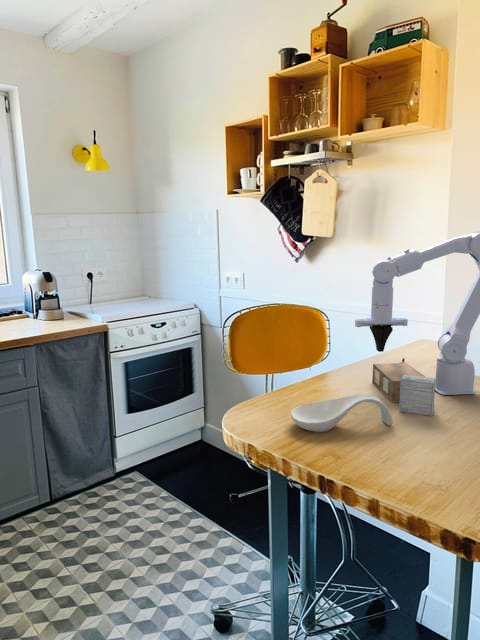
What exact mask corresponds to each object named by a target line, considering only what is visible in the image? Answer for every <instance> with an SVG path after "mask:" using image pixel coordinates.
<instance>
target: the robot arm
mask: <svg viewBox="0 0 480 640" xmlns="http://www.w3.org/2000/svg"><path fill="white" fill-rule="evenodd" d="M454 253H457V254H464V255H465V254H467V255H468V254H469V255H470V256H471V258H473V260H474V261H475V265H476V266H477V268H478V272H477V275H476V277H475V278H474V280H473V282H472V284H471V286H470V288H469V291H468V293H467V294H466V296H465V298H464V300H463V302H462V304H461V306H460V308H459V310H458V312H457V314H456V317H455V318H454V320H453V322H452V324H450V325H449V326H448V327H447V330H446V331H445V332H444V333H443V334H442V335H440V336H439V338H438V340H437V347H438V350H439V351H440V352H439V353H438V355H437V356H436V367H435V368H436V369H435V379H436V381H435V392H437V393H438V394H440V395H442V396H452V395H453V396H454V395H455V396H456V395H457V396H458V395H474V394H476V393H475V391H474V383H475V374H476V371H475V366H474V363H473V361H472V360H471V359H468V358H467V359H466V358H465V357H466V356H467V352H468V351H467V350H468V348H467V346H468V344H469V342H470V337H471V332H472V330H473V328H474V326H475V324H476V322H477V320H478V318H479V316H480V231H474V232H472V233H469V234H463V235H460V236H455V237H453V238H450V239H448V240H446V241H443V242H441V243H439V244H435V245H433V246H431V247H428V248H426V249H424V250H421V251H419V250H416V249H414V248H413V249H409V248H407V249H404V250H403V252H402V253H400V254H397V255H395V256H393V257H392V256H387V258H386V260H380V261H378V262H376V263H375V264H374V265H373V268H372V270H371V271H372V272H371V273H372V276H373V280H372V288H371V308H370V309H371V310H370V317H367V318H356V319H354V327H356V328H361V327H362V328H363V327H369V329H370V331H371V333H372V336H373V340H374V342H375V347H376V350H375V351H377V352H381V353H382V352H384V350H385V347H386V344H387V341H388V339H389V337H390V336H391V333H392V332H393V330H394V329H393V327H394V326H395V327H397V326H402V327H408V324H409V323H408V320H409V319H407V318H406V317H393V306H394V304H393V303H394V302H393V301H394V287H393V283H394V278H395V277H397V278H400V277H403V276H405V275H408V274H410V273H413V272H416V271H419V270H421V269H422V268H423V265H424V263H427V262H429V261H433V260H436V259H439V258H442V257H445V256H449V255H450V254H451V255H452V254H454Z"/></svg>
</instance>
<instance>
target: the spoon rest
mask: <svg viewBox="0 0 480 640" xmlns="http://www.w3.org/2000/svg"><path fill="white" fill-rule="evenodd" d="M362 403H371V404H374V405H376V406H377V407H378V408H380V413H381V415H380V416H381V421H383V422H384V424H385V425H387V426H390V427H391V426H393V416H392V414H391V412H390V410H389V408H388V407H387V405H386V404H385V403H383V402H382V401H381V399H379V398H378V397H376V396H374V395H372V394H368V393H367V394H366V393H355V394H350V395H346V396H345V395H344V396H341V397H337V398H332V399H328V400H326V399H325V400H321V401H313V402H308V403H304V404H303V403H302V404H300V405H298V406H295V407H294V408H293V409H291V411H290V418H291V419H292V420H293V422H294V423H295V424H296V425H297V426H298V427H300V428H302V429H304V430H307V431H310V432H315V433H323V432H327V431H330V430H331V429H333V428H334V427H335V426H337V424H338V423H339V422H340V421H341V420H342V419H344V417H346V416H347V414H348V413H349V412H351V410H353V408H355V407H357V406H359V405H360V404H362Z"/></svg>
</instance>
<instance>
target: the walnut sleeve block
mask: <svg viewBox="0 0 480 640" xmlns="http://www.w3.org/2000/svg"><path fill="white" fill-rule="evenodd" d="M375 370H378V371H379V372H380V373H381V375H380V386H379V385H378V384H377V383H376V382H375ZM403 375H413V376H422V377H426V375H424V374H423V373H421V372H420V371H418V370H417V369H415V368H414V367H412V366H411V365H410V364H409V363H408V362H406V363H405V362H404V363H402V362H401V363H400V362H399V363H398V362H396V363H394V362H393V363H390V362H389V363H373V364H372V379H371V380H372V384H373V385H374V386H375V387H376V389H378V390H379V391H380V392H381V393H382V394H383V395H384V397H386V398H387V399H388V400H389V401H390V402H391V403H400V388H401V379H402V377H403ZM384 377H386V378H387V379H388V380H390V381H389V394H387V393H386V392H385V391H384V390H383V378H384Z"/></svg>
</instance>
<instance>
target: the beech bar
mask: <svg viewBox="0 0 480 640" xmlns="http://www.w3.org/2000/svg"><path fill="white" fill-rule="evenodd" d="M380 375H381V373H380V372H379V371H378V370H375V382H376V383H377V384H378V385H379V386H380Z"/></svg>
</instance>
